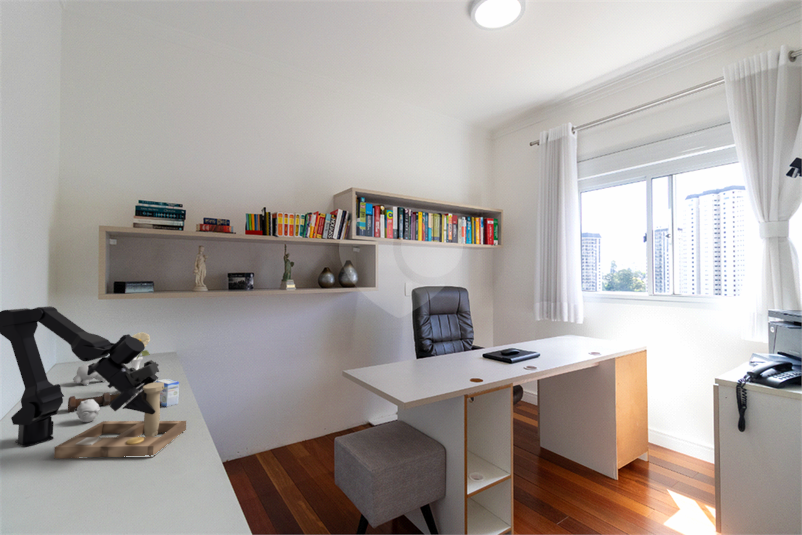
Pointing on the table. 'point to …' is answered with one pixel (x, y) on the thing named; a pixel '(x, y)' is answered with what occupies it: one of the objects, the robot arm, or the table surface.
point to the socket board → (118, 440)
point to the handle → (154, 400)
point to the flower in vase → (136, 361)
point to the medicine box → (169, 392)
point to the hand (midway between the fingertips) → (157, 410)
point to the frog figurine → (88, 410)
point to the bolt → (101, 400)
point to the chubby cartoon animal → (84, 377)
